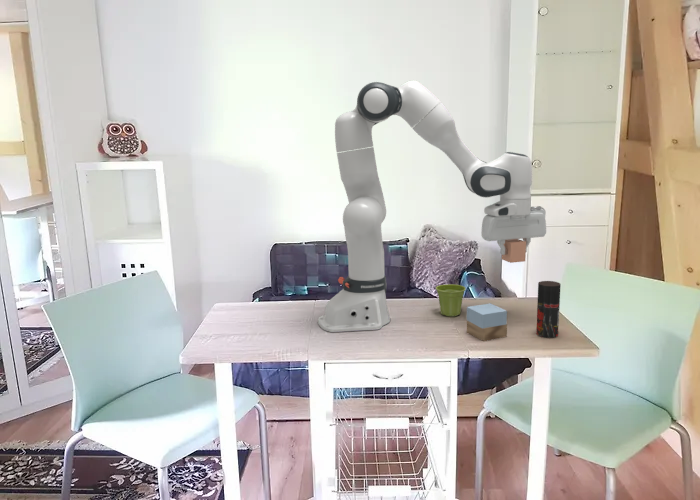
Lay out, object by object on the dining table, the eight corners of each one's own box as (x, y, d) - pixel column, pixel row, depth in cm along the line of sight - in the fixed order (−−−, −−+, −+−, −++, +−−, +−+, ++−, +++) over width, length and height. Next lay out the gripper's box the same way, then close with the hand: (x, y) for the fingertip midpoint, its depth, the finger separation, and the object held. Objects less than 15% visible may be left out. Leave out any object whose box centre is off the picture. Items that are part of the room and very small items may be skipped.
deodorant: (559, 338, 164) (562, 286, 161) (537, 337, 165) (539, 286, 162) (556, 331, 169) (559, 281, 166) (535, 330, 171) (537, 280, 168)
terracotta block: (510, 262, 174) (511, 242, 172) (501, 259, 178) (502, 239, 177) (525, 261, 175) (526, 241, 174) (516, 258, 180) (516, 238, 179)
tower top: (482, 328, 163) (482, 314, 162) (466, 320, 170) (466, 306, 169) (506, 324, 165) (506, 310, 164) (490, 316, 173) (490, 303, 172)
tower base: (484, 342, 163) (484, 328, 162) (466, 333, 170) (466, 320, 169) (506, 337, 167) (507, 323, 166) (488, 329, 174) (489, 316, 173)
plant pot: (433, 310, 192) (433, 284, 191) (461, 309, 193) (462, 283, 191) (438, 319, 183) (438, 292, 181) (468, 317, 183) (468, 291, 182)
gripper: (539, 204, 179) (537, 248, 182) (479, 208, 174) (478, 254, 176) (551, 206, 173) (549, 252, 176) (490, 211, 168) (489, 258, 170)
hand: (513, 253), depth 176 cm, fingers closed on terracotta block, 5 cm apart
